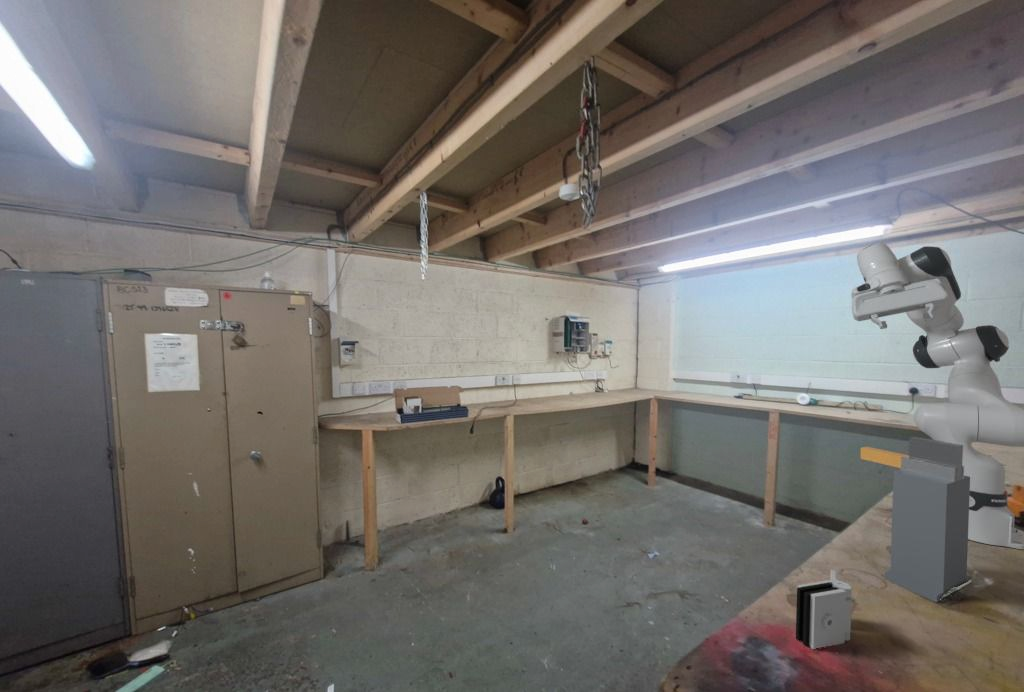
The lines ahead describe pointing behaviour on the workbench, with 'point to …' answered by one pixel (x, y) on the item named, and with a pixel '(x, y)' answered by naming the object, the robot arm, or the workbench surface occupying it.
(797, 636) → the hinge
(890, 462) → the bar
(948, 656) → the workbench surface
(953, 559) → the stand
